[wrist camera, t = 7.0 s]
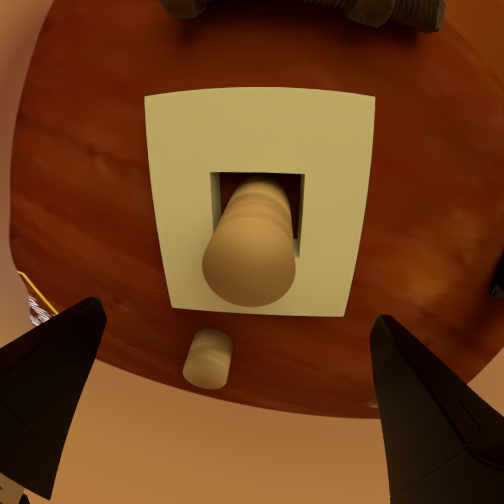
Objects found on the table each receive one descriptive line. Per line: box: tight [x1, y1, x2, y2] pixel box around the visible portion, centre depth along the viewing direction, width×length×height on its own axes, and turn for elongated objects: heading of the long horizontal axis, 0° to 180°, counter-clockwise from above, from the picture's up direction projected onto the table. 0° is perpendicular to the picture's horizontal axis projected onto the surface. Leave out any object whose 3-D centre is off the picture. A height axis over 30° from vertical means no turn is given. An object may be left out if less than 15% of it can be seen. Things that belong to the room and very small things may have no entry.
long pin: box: [202, 174, 296, 307], centre depth 14 cm, size 4×4×8 cm
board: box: [145, 87, 375, 316], centre depth 17 cm, size 12×14×2 cm
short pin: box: [183, 328, 233, 389], centre depth 23 cm, size 4×4×4 cm
